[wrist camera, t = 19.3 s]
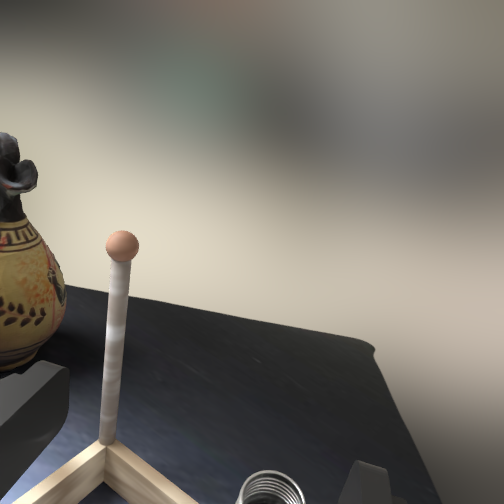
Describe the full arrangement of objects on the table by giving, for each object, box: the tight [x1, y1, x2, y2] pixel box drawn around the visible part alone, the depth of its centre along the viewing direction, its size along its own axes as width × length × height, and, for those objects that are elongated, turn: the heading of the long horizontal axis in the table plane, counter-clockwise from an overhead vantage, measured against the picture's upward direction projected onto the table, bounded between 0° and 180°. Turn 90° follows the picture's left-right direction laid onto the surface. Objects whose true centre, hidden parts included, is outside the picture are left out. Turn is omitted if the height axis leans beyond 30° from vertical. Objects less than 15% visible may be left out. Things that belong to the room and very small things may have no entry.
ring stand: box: [12, 231, 199, 504], centre depth 31 cm, size 13×13×28 cm
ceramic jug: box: [0, 132, 67, 372], centre depth 52 cm, size 17×15×30 cm
